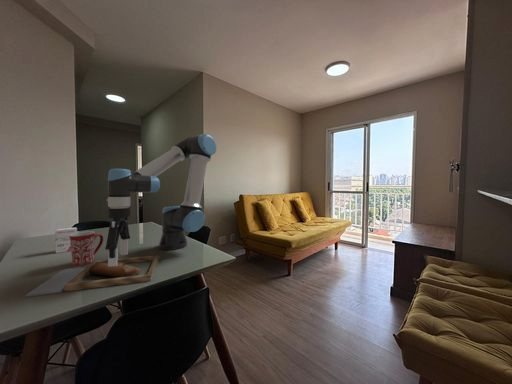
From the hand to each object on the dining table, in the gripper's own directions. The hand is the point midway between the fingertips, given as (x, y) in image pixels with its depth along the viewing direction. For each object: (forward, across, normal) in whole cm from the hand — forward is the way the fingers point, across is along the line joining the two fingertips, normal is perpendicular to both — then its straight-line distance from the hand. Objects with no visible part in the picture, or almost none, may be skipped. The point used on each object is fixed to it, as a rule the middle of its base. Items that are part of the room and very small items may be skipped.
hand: (118, 259), depth 82 cm
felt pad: (+6, +2, -18) cm, 18 cm away
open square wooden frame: (+5, 0, 0) cm, 5 cm away
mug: (+6, -18, -17) cm, 26 cm away
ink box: (+6, -40, -36) cm, 54 cm away
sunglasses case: (+6, 0, 0) cm, 6 cm away
